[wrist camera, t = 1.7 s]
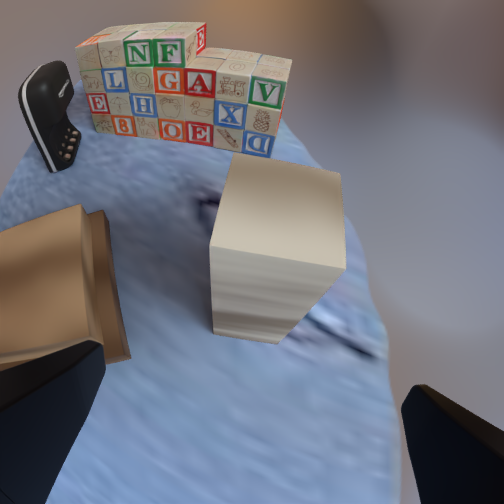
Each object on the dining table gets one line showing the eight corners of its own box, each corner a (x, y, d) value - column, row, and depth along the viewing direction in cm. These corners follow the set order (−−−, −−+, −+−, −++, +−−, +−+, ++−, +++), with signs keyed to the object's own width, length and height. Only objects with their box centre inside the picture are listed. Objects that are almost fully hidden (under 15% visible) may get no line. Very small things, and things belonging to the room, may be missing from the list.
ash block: (277, 344, 20) (346, 269, 9) (213, 334, 19) (209, 245, 9) (283, 286, 22) (340, 173, 11) (224, 276, 22) (233, 152, 11)
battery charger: (78, 169, 26) (46, 79, 16) (49, 176, 25) (12, 92, 15) (89, 131, 29) (68, 51, 19) (63, 138, 28) (38, 62, 18)
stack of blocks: (278, 128, 32) (299, 34, 21) (270, 161, 29) (294, 52, 18) (119, 106, 32) (107, 25, 21) (94, 133, 29) (73, 45, 18)
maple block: (104, 344, 16) (89, 335, 14) (-1, 363, 14) (-20, 356, 12) (91, 222, 21) (80, 203, 18) (0, 252, 18) (-14, 237, 16)
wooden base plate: (134, 360, 18) (124, 354, 16) (13, 383, 15) (-5, 378, 13) (111, 226, 24) (103, 209, 21) (8, 259, 20) (-5, 246, 18)
